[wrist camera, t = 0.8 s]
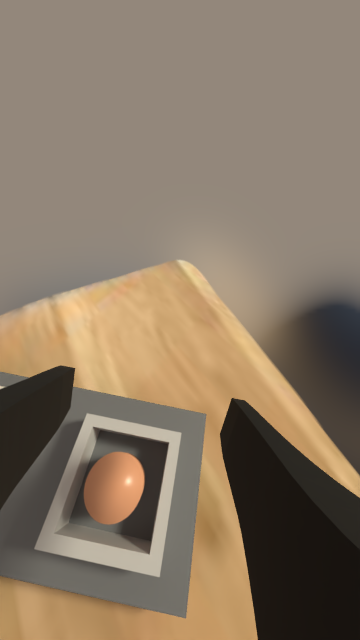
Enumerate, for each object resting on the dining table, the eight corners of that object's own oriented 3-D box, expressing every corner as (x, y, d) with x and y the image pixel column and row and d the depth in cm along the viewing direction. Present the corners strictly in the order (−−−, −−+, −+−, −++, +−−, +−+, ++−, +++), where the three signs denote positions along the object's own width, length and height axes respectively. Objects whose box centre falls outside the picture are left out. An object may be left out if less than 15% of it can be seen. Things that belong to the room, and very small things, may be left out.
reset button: (137, 520, 14) (133, 530, 12) (85, 509, 14) (73, 517, 12) (150, 457, 16) (149, 457, 14) (104, 447, 16) (97, 446, 14)
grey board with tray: (181, 592, 16) (191, 648, 11) (-125, 523, 16) (-237, 549, 12) (200, 418, 22) (211, 409, 18) (-19, 373, 23) (-63, 352, 18)
